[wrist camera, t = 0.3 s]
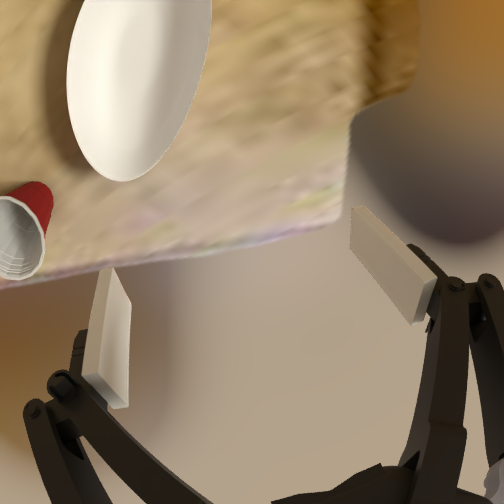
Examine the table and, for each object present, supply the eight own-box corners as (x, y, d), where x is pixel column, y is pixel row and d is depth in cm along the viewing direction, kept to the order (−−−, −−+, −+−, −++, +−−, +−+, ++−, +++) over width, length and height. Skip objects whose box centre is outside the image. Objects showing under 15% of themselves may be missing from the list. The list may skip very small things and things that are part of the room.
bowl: (181, 169, 41) (182, 185, 36) (73, 163, 36) (60, 179, 31) (227, -42, 26) (236, -58, 21) (109, -51, 21) (100, -67, 16)
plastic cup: (76, 171, 37) (48, 210, 27) (65, 238, 42) (42, 289, 32) (10, 155, 33) (-32, 190, 23) (5, 222, 37) (-28, 268, 28)
